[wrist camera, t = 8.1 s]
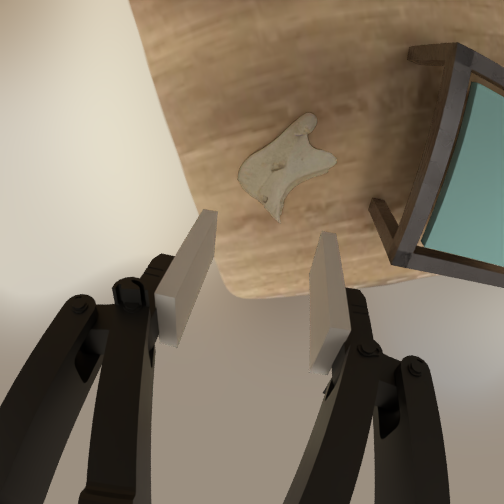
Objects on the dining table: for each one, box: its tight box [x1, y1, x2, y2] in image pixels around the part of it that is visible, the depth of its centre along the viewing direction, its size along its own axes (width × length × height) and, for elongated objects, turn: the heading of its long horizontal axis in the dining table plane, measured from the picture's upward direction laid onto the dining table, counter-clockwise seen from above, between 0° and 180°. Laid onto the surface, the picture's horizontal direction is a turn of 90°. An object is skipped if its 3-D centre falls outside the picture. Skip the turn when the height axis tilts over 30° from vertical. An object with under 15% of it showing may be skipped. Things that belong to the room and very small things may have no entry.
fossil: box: [238, 113, 337, 224], centre depth 31 cm, size 7×11×4 cm, turn 137°
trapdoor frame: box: [369, 42, 504, 288], centre depth 23 cm, size 19×19×10 cm
